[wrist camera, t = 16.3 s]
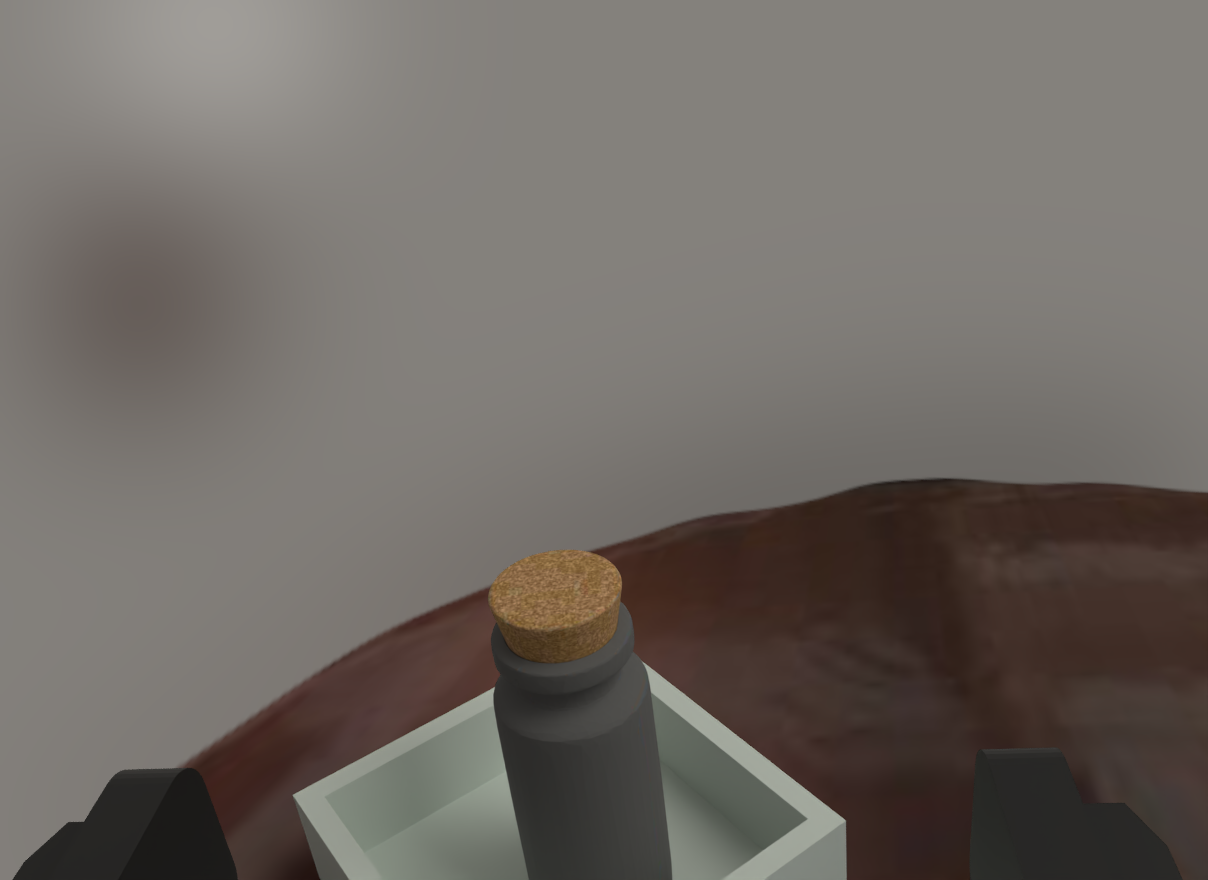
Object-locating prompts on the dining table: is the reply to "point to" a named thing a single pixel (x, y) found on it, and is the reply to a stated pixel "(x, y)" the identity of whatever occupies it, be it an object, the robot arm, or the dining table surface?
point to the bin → (488, 823)
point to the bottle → (577, 722)
